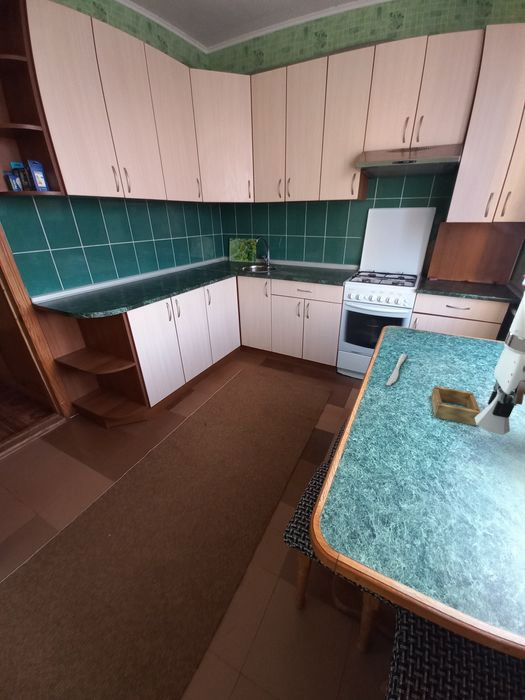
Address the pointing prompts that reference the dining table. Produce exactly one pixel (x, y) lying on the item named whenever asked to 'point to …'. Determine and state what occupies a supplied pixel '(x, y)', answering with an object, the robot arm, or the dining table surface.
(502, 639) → the dining table surface
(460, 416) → the square wooden frame
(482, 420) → the flask
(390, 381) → the butter knife
